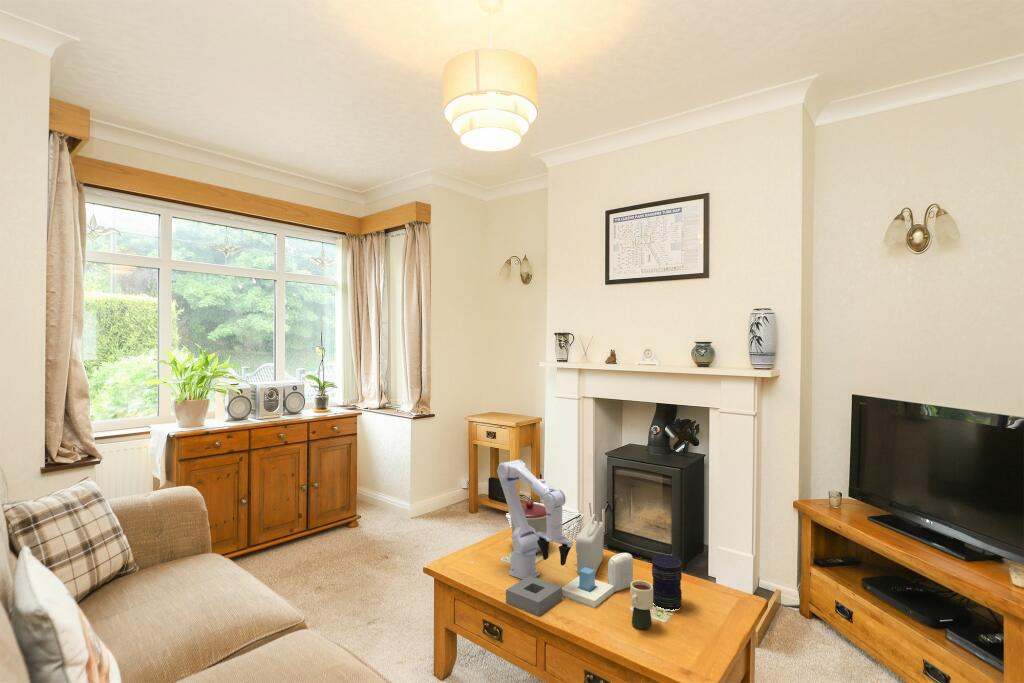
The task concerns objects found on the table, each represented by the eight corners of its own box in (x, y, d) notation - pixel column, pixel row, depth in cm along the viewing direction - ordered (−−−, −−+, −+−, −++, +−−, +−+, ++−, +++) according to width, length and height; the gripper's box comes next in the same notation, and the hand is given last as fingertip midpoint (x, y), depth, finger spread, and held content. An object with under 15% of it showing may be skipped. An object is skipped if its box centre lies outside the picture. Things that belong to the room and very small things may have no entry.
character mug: (640, 615, 172) (640, 576, 172) (660, 623, 167) (660, 583, 167) (622, 628, 165) (622, 587, 164) (642, 637, 160) (642, 595, 159)
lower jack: (560, 595, 185) (560, 588, 185) (580, 581, 196) (580, 574, 196) (594, 608, 177) (594, 601, 176) (614, 592, 187) (614, 585, 187)
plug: (579, 593, 186) (579, 570, 186) (586, 588, 190) (586, 566, 190) (589, 596, 183) (589, 574, 183) (595, 591, 187) (595, 569, 187)
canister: (537, 561, 214) (537, 510, 214) (500, 551, 224) (500, 502, 223) (557, 546, 229) (557, 499, 229) (522, 538, 239) (523, 492, 239)
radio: (585, 554, 221) (585, 496, 220) (604, 557, 218) (604, 498, 217) (571, 576, 200) (572, 511, 200) (593, 580, 197) (593, 514, 197)
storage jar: (650, 608, 177) (650, 564, 177) (653, 595, 186) (653, 553, 186) (680, 614, 173) (680, 569, 173) (682, 600, 182) (682, 557, 182)
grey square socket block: (505, 602, 180) (505, 589, 180) (529, 587, 191) (529, 575, 191) (538, 616, 172) (538, 602, 171) (561, 599, 182) (561, 586, 182)
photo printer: (626, 581, 196) (626, 549, 196) (634, 586, 192) (634, 552, 192) (606, 588, 190) (606, 555, 190) (614, 593, 187) (614, 559, 187)
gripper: (531, 523, 191) (531, 560, 191) (565, 532, 182) (565, 570, 182) (542, 517, 196) (542, 553, 196) (575, 526, 187) (575, 564, 187)
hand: (554, 561), depth 189 cm, fingers open, 7 cm apart
